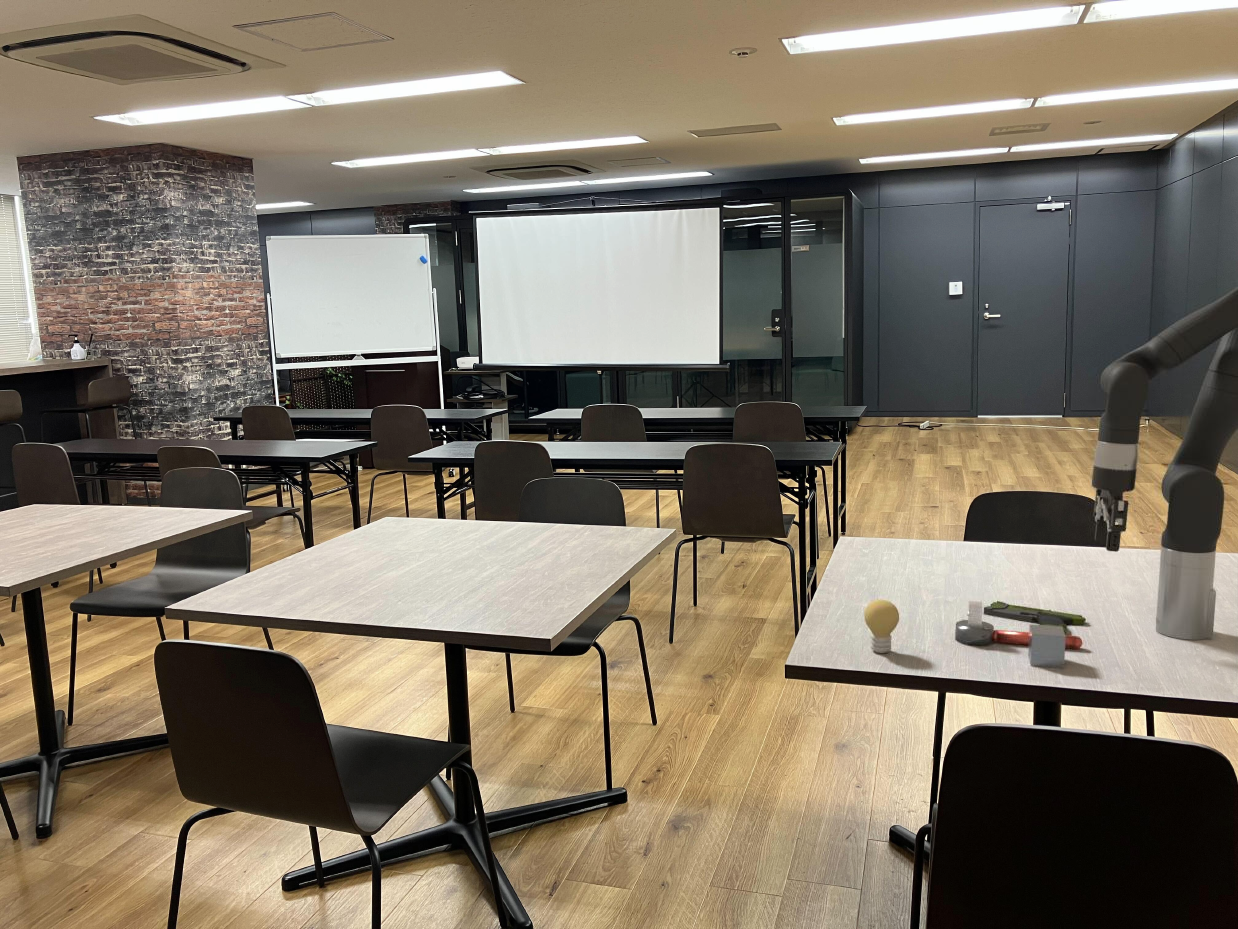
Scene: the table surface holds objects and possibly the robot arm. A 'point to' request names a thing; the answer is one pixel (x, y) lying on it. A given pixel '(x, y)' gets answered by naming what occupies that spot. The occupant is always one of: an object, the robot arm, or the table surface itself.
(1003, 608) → the gun
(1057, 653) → the grey bevelled cube
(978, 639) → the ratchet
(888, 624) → the light bulb
